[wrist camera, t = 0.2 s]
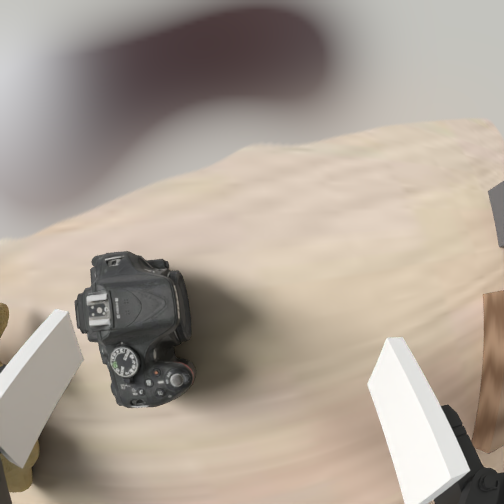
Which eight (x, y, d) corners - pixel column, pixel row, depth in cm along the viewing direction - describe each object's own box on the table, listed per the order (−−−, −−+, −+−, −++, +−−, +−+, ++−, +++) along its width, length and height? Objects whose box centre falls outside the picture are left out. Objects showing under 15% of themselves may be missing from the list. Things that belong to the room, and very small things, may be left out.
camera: (237, 357, 26) (232, 379, 16) (151, 405, 24) (108, 441, 15) (165, 237, 28) (128, 197, 18) (88, 288, 27) (27, 273, 17)
